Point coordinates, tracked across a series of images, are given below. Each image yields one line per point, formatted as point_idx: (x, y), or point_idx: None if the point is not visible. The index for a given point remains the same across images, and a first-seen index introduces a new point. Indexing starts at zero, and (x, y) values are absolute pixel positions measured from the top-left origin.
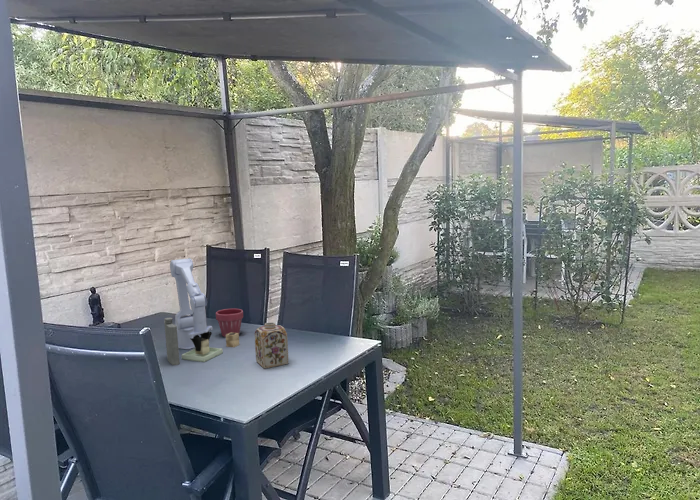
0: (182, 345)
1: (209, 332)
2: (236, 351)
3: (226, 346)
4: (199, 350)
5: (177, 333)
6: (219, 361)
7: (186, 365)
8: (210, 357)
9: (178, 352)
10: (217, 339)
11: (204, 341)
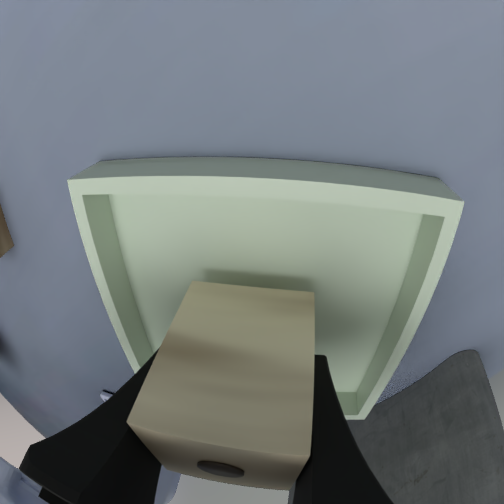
0: None
1: (50, 490)
2: (26, 77)
3: (13, 245)
4: (327, 363)
5: (166, 500)
6: (371, 3)
7: (500, 293)
8: (332, 169)
9: (485, 428)
10: (17, 342)
11: (242, 442)
